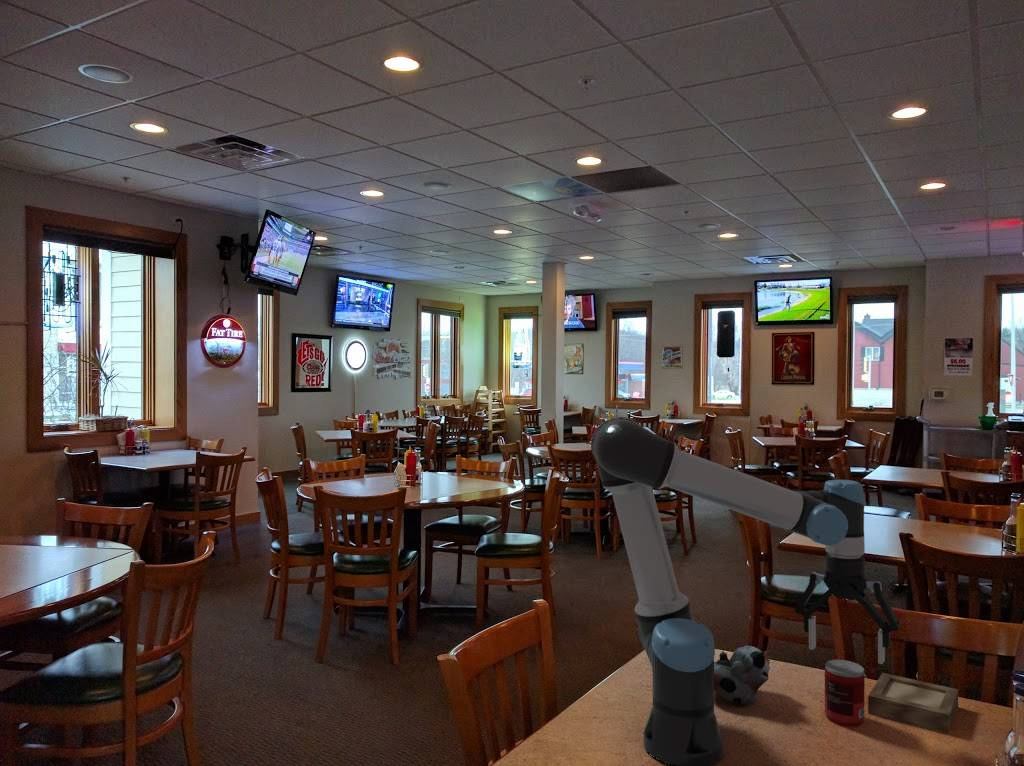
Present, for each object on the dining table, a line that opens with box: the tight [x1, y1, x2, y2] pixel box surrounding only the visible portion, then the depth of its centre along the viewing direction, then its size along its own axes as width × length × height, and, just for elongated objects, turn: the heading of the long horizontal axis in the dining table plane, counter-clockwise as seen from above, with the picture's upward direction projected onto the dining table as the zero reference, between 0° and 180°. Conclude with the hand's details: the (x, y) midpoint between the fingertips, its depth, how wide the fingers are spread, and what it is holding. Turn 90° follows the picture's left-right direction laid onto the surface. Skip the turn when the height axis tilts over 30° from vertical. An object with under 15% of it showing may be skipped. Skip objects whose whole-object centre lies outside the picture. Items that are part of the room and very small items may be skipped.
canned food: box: [824, 659, 866, 728], centre depth 155 cm, size 8×8×11 cm
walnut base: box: [867, 672, 959, 734], centre depth 159 cm, size 15×15×4 cm
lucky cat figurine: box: [714, 645, 771, 707], centre depth 166 cm, size 15×12×14 cm
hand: (846, 654), depth 155 cm, fingers open, 13 cm apart
